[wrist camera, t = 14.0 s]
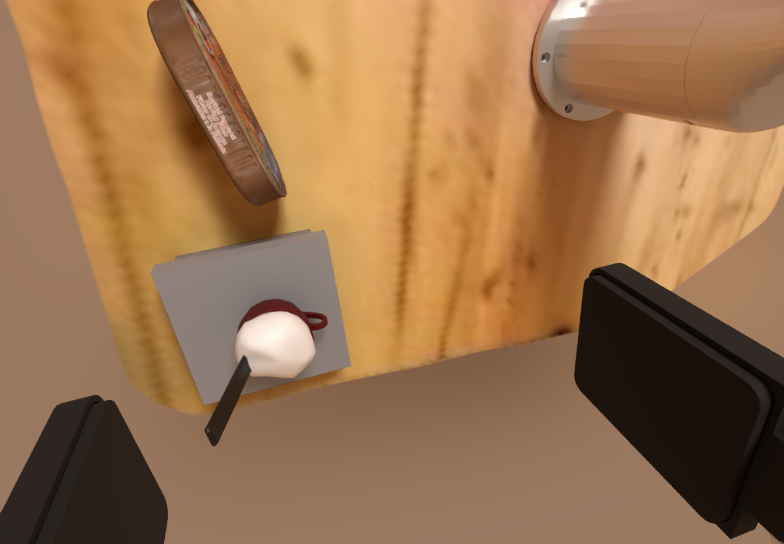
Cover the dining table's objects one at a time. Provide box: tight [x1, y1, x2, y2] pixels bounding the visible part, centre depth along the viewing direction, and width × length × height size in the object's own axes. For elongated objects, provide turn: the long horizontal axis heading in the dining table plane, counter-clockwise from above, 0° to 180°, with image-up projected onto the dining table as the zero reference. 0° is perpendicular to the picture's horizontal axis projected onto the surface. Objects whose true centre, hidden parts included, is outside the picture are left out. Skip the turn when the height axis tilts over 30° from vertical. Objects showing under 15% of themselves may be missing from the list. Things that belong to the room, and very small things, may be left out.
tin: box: [147, 0, 287, 206], centre depth 34 cm, size 15×3×8 cm, turn 20°
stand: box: [151, 229, 351, 405], centre depth 43 cm, size 14×14×5 cm
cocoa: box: [204, 299, 328, 446], centre depth 36 cm, size 10×6×12 cm, turn 78°
